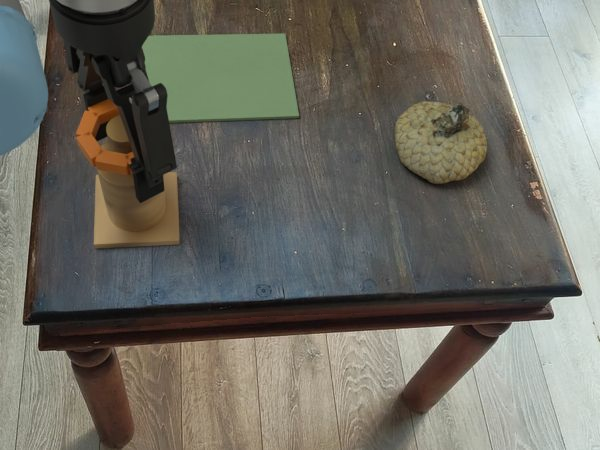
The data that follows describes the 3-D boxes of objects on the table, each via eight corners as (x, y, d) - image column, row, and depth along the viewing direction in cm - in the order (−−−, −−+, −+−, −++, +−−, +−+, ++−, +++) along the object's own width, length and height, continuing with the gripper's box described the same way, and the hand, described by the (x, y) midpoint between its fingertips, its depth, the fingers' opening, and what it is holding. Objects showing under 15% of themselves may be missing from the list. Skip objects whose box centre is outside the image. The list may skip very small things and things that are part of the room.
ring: (107, 187, 64) (105, 178, 63) (65, 127, 67) (62, 118, 65) (182, 150, 67) (182, 141, 66) (139, 94, 70) (138, 84, 69)
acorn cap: (486, 196, 85) (512, 115, 83) (414, 183, 80) (439, 97, 78) (439, 175, 94) (462, 101, 91) (371, 162, 89) (393, 84, 86)
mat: (134, 124, 84) (134, 121, 84) (132, 38, 91) (132, 35, 91) (298, 118, 88) (299, 115, 87) (284, 36, 94) (285, 33, 94)
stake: (94, 248, 76) (71, 169, 63) (96, 179, 80) (75, 91, 67) (179, 244, 77) (174, 166, 64) (177, 176, 81) (171, 90, 68)
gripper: (223, 55, 49) (217, 221, 68) (77, -114, 56) (109, 80, 75) (126, 98, 46) (149, 259, 65) (-15, -86, 53) (44, 108, 72)
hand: (127, 163), depth 70 cm, fingers closed on ring, 8 cm apart
